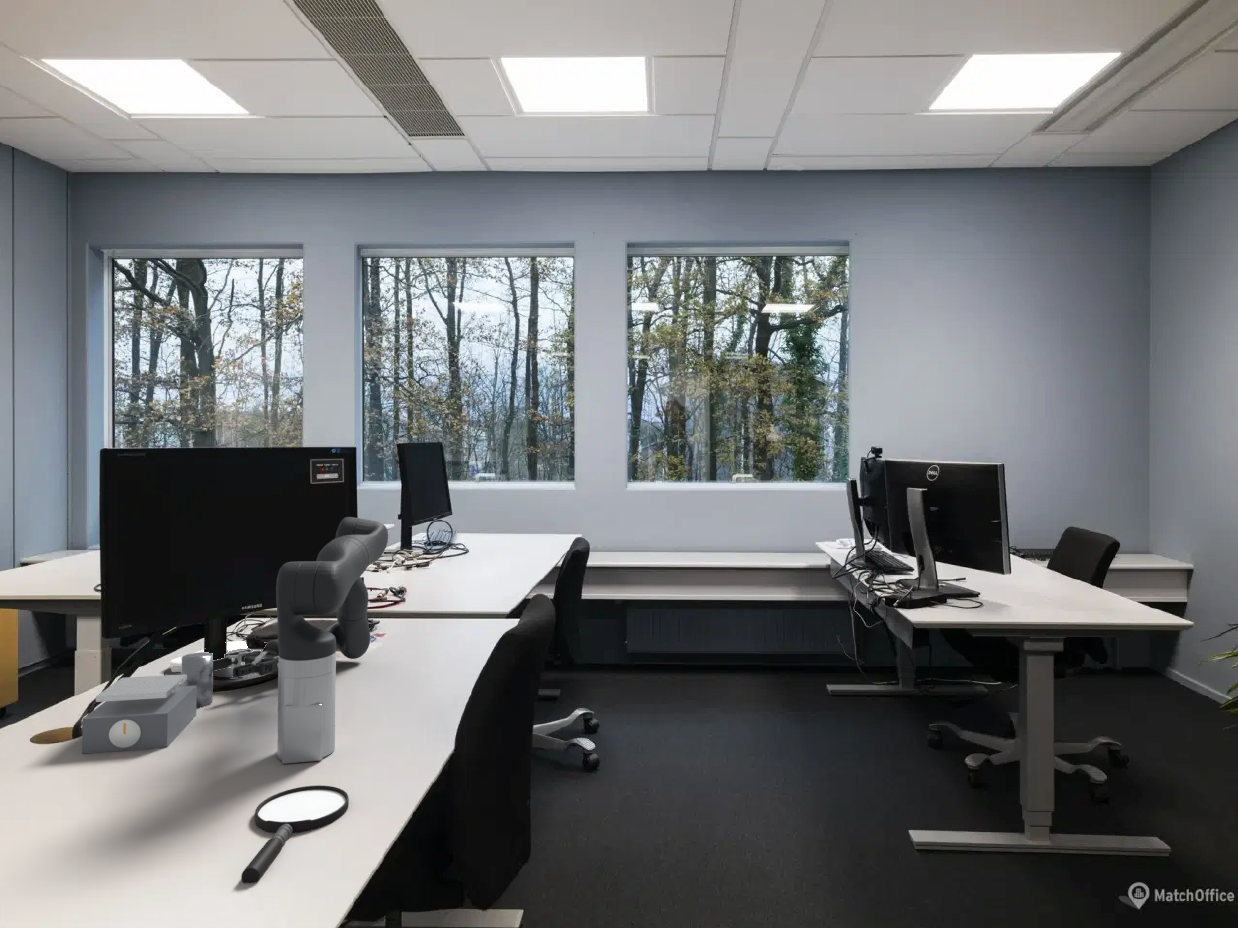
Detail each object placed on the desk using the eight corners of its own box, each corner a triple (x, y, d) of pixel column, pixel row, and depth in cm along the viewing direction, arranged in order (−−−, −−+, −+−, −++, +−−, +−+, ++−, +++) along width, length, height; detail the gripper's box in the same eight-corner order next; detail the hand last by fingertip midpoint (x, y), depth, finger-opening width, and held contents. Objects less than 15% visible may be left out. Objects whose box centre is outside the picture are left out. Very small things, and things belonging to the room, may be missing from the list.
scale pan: (166, 697, 129) (166, 692, 129) (95, 701, 126) (96, 696, 126) (186, 679, 140) (186, 674, 140) (122, 682, 137) (122, 677, 137)
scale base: (166, 748, 127) (166, 714, 127) (80, 754, 123) (81, 719, 123) (196, 715, 143) (196, 685, 143) (121, 720, 139) (121, 689, 139)
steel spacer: (208, 707, 147) (208, 658, 147) (177, 709, 146) (177, 660, 146) (216, 698, 153) (216, 651, 153) (186, 700, 151) (187, 652, 151)
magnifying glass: (196, 887, 87) (196, 869, 87) (275, 798, 111) (275, 783, 111) (302, 884, 88) (303, 866, 88) (358, 796, 112) (358, 782, 112)
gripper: (271, 632, 171) (202, 647, 157) (310, 641, 164) (241, 656, 150) (271, 664, 171) (202, 681, 157) (309, 674, 164) (241, 693, 150)
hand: (221, 669), depth 154 cm, fingers open, 8 cm apart
